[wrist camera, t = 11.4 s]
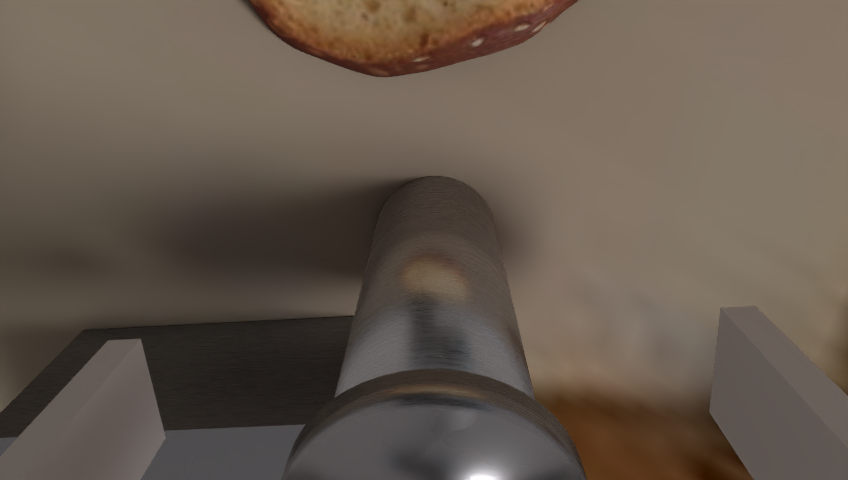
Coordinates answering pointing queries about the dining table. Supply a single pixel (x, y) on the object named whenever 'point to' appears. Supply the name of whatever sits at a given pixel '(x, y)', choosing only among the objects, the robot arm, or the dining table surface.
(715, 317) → the dining table surface
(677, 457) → the dining table surface
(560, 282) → the dining table surface
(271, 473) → the dock
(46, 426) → the robot arm
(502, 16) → the bread slice
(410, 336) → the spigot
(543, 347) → the dining table surface
